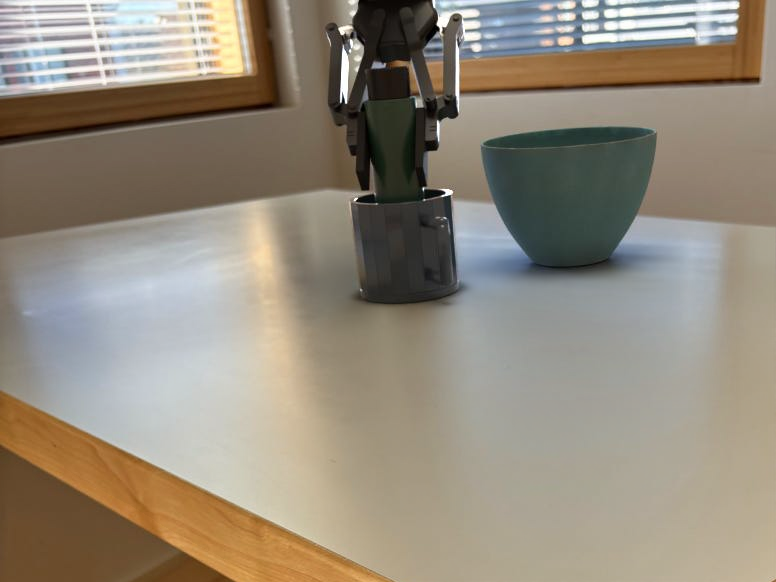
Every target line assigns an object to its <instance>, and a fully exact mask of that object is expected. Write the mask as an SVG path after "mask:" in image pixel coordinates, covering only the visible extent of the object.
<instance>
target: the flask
mask: <svg viewBox="0 0 776 582" xmlns="http://www.w3.org/2000/svg"><path fill="white" fill-rule="evenodd" d="M365 72H366V82H367V91H368V99H369V100H365V101H364V103H365V112H366V121H367V131H368V140H369V149H370V168H371V174H372V176H371V177H372V184H373V185H372V186H373V193H374V194H375V204H386V203H401V202H411V201H419V200H425V198H424V188H425V187H419V183H418V179H417V174H416V170H415V142H416V108H418V107H417V98H416V96H414V95H412V88H411V78H410V77H411V76H410V67H409V66H408V65H402V66H401V65H399V66H385V67H384V68H373V69H366V70H365Z"/></svg>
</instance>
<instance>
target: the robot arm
mask: <svg viewBox="0 0 776 582" xmlns="http://www.w3.org/2000/svg"><path fill="white" fill-rule="evenodd" d="M324 29H325V33H326V36H327V40H328V43H329V46H330V49H329V50H330V51H329V70H328V88H327V89H328V90H327V106H328V109H329V112H330V116H331V119H332V122H333V124H334V126H336V127H338V128H339V127H343V126H344V125H345V126H346V133H345V134H346V135H345V136H346V138H345V142H346V145H347V149H348V152H349V154H350V156H351V157H355V174H356V177H357V180H358V184H359V187H360V190H361V192H365V191H366V192H367V191H370V189H371V188H370V186H371V183H370V182H371V158H370V149H369V140H368V131H367V121H366V112H365V103H364V101H365V100H369V99H368V91H367V82H366V72H365V70H366V69H373V68H384V67H386V65H387V64H390V63H393V62H410V66H411V68H412V72H413V74H414V78H415V82H416V84H417V85H416V86H417V89H418V92H419V96H420V99H421V104H422V106H421V107H417V108H416V142H415V170H416V174H417V179H418V183H419V187H424V188H428V178H429V177H428V176H429V175H428V173H429V169H428V168H429V166H428V165H429V152H437V151H438V150H439V147H440V124H441V122H442V121H443V120H444V119H446V118H448V119H449V120H454V119H456V118H458V116H459V113H460V53H461V50H462V47H463V45H464V44H465V41H466V35H465V27H464V19H463V15H462V14H461V13H458V12H457V13H456V12H455V13H452V14H451V15H450V17H449V18H447V17H442V16H439V12H438V11H437V9H436V0H357V9H356V12H355V14H354V15H353V17H352V19H351V23H348V24H346V25H343V26H338V24H337V23H335V22H329V23H327V24H326V25H325V27H324ZM437 34H439V37H440V38H439V39H440V42H441V43H442V44H443V50H442V51H443V52H442V53H443V55H442V57H443V59H442V65H443V66H442V67H443V68H442V96H438V97H437V95H436V93H435V90H434V86H433V82H432V79H431V75H430V73H429V68H428V65H427V62H426V58H425V55H424V50H425V49H426V47H427V46H428V45H429V44H430V43H431V42H432V40H433V39H434V38H435V37H436V36H437ZM354 40H357V41H358V42H359V43H360V44H361V45H362V46H363V54H362V57H361V60H360V64H359V67H358V69H357V72H356V76H355V79H354V82H353V84H352V85H353V86H352V87H351V91H350V94H349V96H348V85H349V84H348V83H349V82H348V81H349V57H348V55H350V54H351V52H352V51H351V49H352V48H353V42H354ZM348 97H349V98H348Z"/></svg>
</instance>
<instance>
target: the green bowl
mask: <svg viewBox="0 0 776 582" xmlns="http://www.w3.org/2000/svg"><path fill="white" fill-rule="evenodd" d="M657 137H658V131H657V130H656V129H655V128H651V127H642V126H629V125H627V126H626V125H625V126H624V125H604V126H603V125H602V126H580V127H579V126H578V127H576V126H575V127H564V128H554V129H553V128H552V129H542V130H533V131H525V132H524V131H523V132H518V133H512V134H505V135H502V136H501V135H500V136H497V137H492V138H488V139H485V140H484V141H482V142H481V143H480V144H479V145H480V154H481V160H482V167H483V170H484V174H485V179H486V183H487V186H488V189H489V192H490V195H491V198H492V201H493V203H494V205H495V208H496V210H497V212H498V214H499V217H500V218H501V220H502V222H503V224H504V225H505V228H506V229H507V231H508V233H509V234H510V235H511V237H512V239H514V241H515V242H516V244H517V245H518V246H519V248H521V250H522V251H523V253H525V255H526V256H527V258H528V259H530V260H531V261H532V262H533V263H534V264H536V265H539V266H545V267H552V268H553V267H554V268H556V267H557V268H565V267H566V268H568V267H580V266H587V265H594V264H597V263H601V262H604V261H606V260H607V259H609V258H610V257H611V255H612V254H613V253H614V252H615V250H616V249H617V248H618V247H619V245H620V244H621V242H622V240H623V239H624V238H625V236H626V234H627V233H628V231H629V230H630V228H631V226H632V225H633V223H634V221H635V219H636V217H637V215H638V213H639V210H640V208H641V206H642V204H643V201H644V198H645V196H646V192H647V189H648V186H649V183H650V179H651V176H652V171H653V166H654V162H655V156H656V149H657Z"/></svg>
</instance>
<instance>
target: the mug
mask: <svg viewBox="0 0 776 582" xmlns="http://www.w3.org/2000/svg"><path fill="white" fill-rule="evenodd" d="M453 196H454V195H453V191H452V190H450V189H445V188H436V187H435V188H434V187H424V198H425V200H419V201H411V202H401V203H386V204H375V194H374V192H369V193H365V194H360V195H357V196H354V197H351V198H350V199H349V200H348V208H349V209H348V210H349V214H350V216H349V217H350V224H351V231H352V239H353V248H354V255H355V264H356V271H357V273H356V274H357V279H358V287H359V291H360V292H359V293H360V296H361V299H363V300H365V301H367V302H372V303H379V304H407V303H418V302H426V301H431V300H435V299H439V298H443V297H447V296H450V295H452V294H454V293H456V292H457V291H458V290H459V288H460V282H459V279H460V276H459V275H460V274H459V263H458V249H457V237H456V236H457V235H456V224H455V222H456V221H455V209H454V208H455V207H454V197H453Z"/></svg>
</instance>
